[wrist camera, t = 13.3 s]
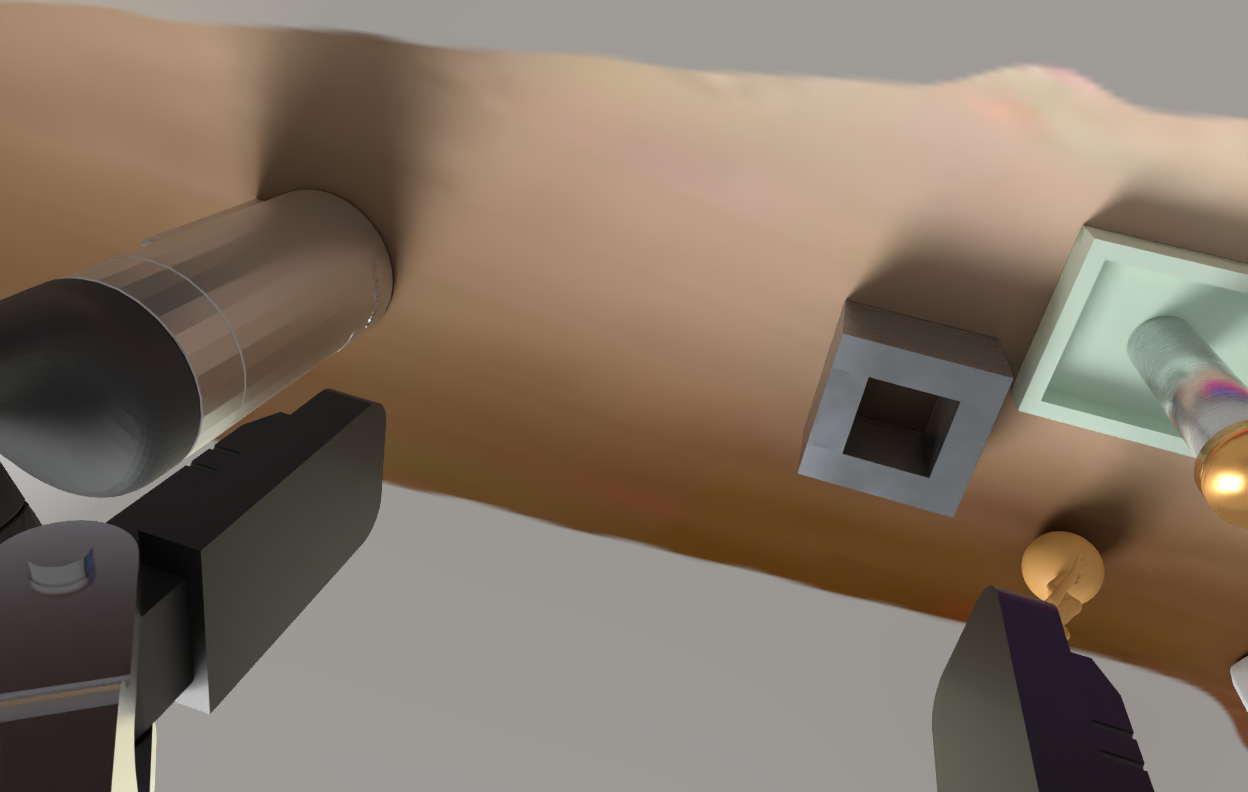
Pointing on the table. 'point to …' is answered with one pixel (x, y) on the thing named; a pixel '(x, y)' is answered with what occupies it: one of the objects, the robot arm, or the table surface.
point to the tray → (1127, 332)
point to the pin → (1199, 408)
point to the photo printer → (1241, 679)
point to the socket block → (891, 454)
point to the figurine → (1063, 571)
